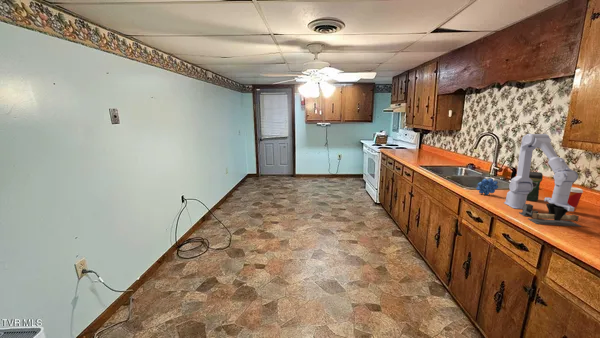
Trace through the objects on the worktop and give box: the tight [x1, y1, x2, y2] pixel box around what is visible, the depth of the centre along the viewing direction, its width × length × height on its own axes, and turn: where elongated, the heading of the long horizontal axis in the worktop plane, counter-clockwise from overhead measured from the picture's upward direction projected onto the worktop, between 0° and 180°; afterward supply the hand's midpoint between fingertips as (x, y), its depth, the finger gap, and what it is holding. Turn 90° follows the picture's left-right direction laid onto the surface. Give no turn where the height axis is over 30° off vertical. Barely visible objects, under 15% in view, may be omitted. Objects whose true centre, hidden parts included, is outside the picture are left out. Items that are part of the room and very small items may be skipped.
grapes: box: [475, 177, 499, 196], centre depth 169 cm, size 12×7×12 cm, turn 56°
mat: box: [527, 218, 582, 228], centre depth 127 cm, size 6×20×1 cm, turn 82°
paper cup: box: [566, 186, 584, 214], centre depth 140 cm, size 8×8×14 cm
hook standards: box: [518, 203, 567, 218], centre depth 133 cm, size 7×18×6 cm, turn 82°
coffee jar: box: [526, 170, 544, 202], centre depth 160 cm, size 10×8×19 cm
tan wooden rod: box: [532, 212, 580, 222], centre depth 126 cm, size 19×3×3 cm, turn 82°
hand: (554, 219), depth 126 cm, fingers closed on tan wooden rod, 2 cm apart
